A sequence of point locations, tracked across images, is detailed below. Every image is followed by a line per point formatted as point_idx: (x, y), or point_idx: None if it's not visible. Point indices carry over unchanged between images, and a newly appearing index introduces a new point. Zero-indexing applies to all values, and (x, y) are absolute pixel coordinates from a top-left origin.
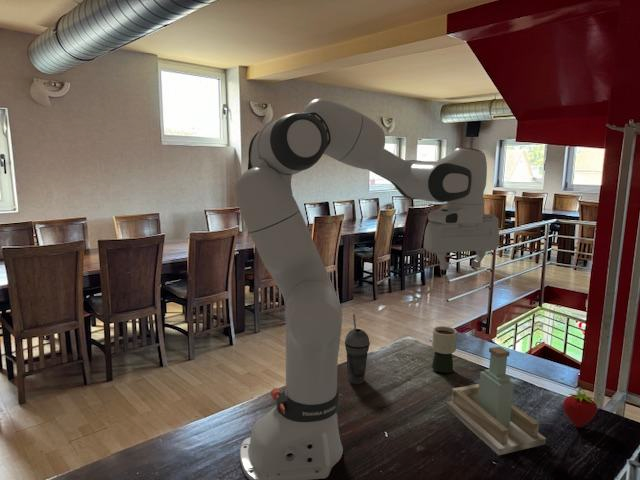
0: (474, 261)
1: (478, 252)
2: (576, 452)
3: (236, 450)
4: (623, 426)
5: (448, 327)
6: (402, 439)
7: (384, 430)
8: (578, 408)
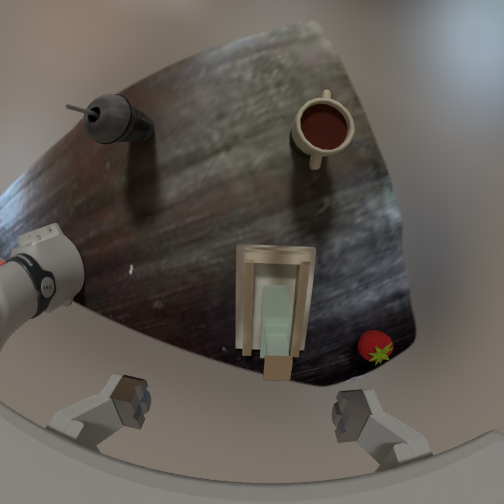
0: (340, 432)
1: (383, 467)
2: (321, 361)
3: None
4: (407, 341)
5: (346, 112)
6: (145, 285)
7: (131, 263)
8: (363, 357)
